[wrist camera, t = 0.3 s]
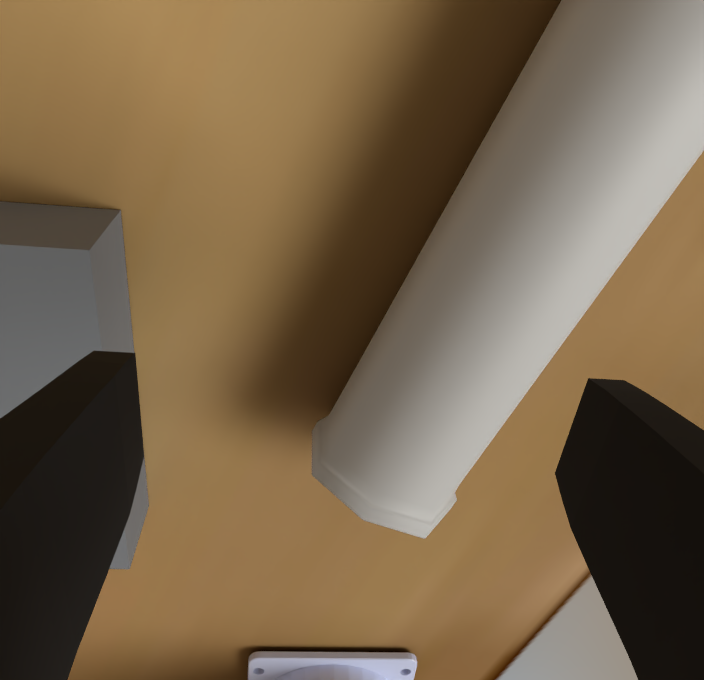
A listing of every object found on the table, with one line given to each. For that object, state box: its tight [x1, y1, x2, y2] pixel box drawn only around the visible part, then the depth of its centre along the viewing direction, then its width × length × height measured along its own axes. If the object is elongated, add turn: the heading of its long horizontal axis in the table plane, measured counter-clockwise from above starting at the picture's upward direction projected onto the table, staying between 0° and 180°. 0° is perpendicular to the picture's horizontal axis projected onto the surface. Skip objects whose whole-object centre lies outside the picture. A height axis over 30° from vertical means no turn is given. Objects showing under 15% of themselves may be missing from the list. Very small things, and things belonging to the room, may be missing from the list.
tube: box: [312, 0, 704, 538], centre depth 16 cm, size 5×5×25 cm
